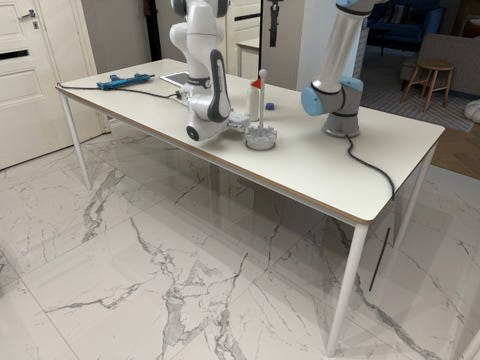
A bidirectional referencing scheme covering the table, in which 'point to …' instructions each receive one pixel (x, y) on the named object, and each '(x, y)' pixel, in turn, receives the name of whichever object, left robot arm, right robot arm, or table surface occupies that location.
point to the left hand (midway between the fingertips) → (240, 112)
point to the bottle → (253, 102)
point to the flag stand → (260, 122)
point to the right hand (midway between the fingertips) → (273, 43)
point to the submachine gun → (124, 81)
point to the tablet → (176, 78)
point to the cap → (269, 106)
